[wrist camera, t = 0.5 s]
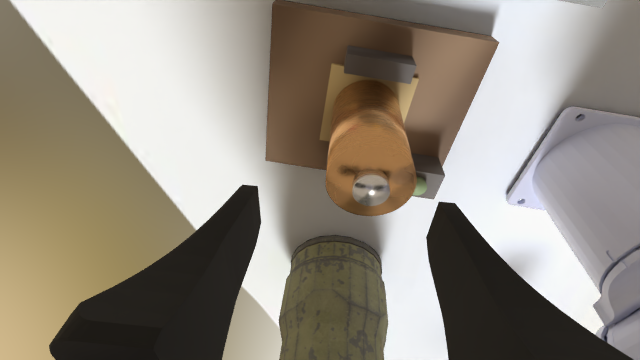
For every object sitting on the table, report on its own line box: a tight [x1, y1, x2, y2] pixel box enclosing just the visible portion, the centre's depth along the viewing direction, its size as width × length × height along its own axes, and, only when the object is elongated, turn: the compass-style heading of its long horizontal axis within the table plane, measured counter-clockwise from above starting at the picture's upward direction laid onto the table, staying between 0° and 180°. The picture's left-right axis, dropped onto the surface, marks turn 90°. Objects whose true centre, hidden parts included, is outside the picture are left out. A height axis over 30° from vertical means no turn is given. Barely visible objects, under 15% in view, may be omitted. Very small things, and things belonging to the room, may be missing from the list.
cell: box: [326, 80, 417, 216], centre depth 17 cm, size 4×4×8 cm
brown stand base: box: [266, 0, 499, 199], centre depth 20 cm, size 12×10×4 cm
